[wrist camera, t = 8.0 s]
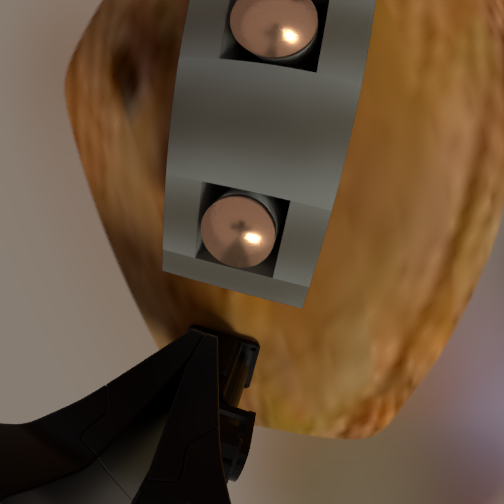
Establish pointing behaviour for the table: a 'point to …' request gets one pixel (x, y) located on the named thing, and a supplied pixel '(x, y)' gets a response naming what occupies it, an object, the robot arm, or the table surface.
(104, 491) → the robot arm
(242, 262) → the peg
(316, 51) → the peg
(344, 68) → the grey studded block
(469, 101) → the table surface
